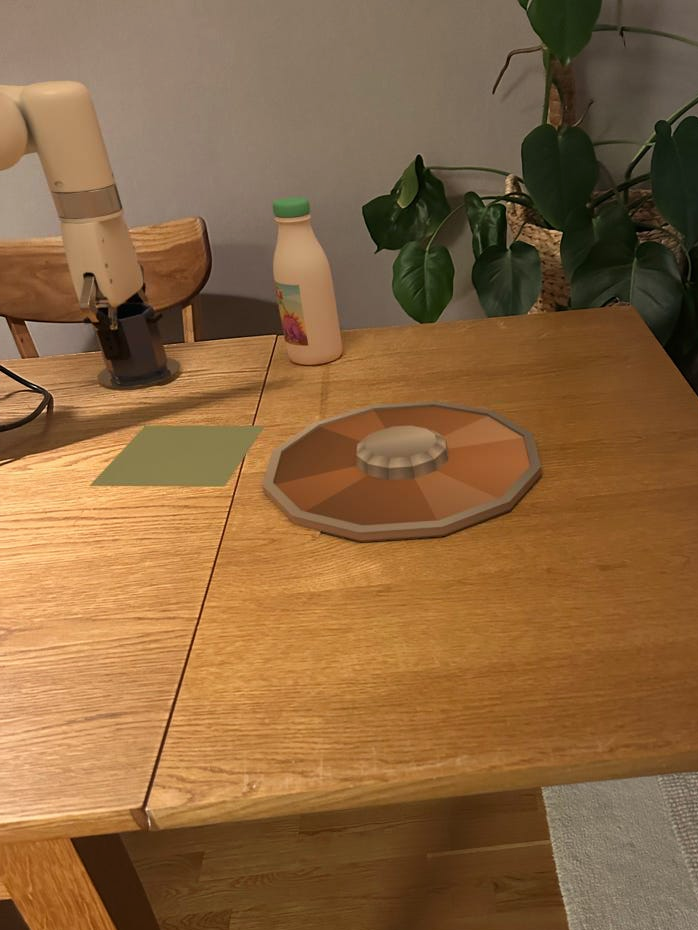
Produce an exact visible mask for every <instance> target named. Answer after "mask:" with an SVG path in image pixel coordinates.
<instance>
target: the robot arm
mask: <svg viewBox="0 0 698 930" xmlns="http://www.w3.org/2000/svg"><path fill="white" fill-rule="evenodd" d="M104 140H105V139H104V137H103V133H102V130H101V125H100V122H99V119H98V115H97V112H96V108H95V105H94V101H93V98H92V95H91V93H90V91H89V90H88V88H87V87H86V86H85V85H84V84H83V83H81V82H79V81H75V80H53V81H51V80H50V81H41V82H35V83H31V84H28V85H7V84H0V172H2V171H6V170H9V169H11V168H12V167H14V166H15V165H16V164H18V163H19V162H20V160H21V159H22V157H24V156H26V155H30V154H35V153H36V154H37V155H38V158H39V161H40V165H41V168H42V171H43V173H44V177H45V179H46V183H47V186H48V190H49V192H50V195H51V198H52V201H53V204H54V207H55V210H56V213H57V216H58V220H59V222H60V233H61V234H60V235H61V240H62V244H63V249H64V254H65V258H66V263H67V266H68V270H69V274H70V277H71V280H72V284H73V286H74V288H73V289H74V291H75V294H76V296H77V300H78V303H79V306H78V307H79V309H80V311H81V312H82V313H83V314H84V315H85V317H87V319H88V321H89V322H90V323H91V324H90V325H91V326H92V329H93V331H94V330H96V331H97V334H98V337H99V340H100V343H101V346H102V349H103V352H104V355H105V358H106V359H107V360H128V359H129V358H130V353H129V350H128V347H127V344H126V340H125V337H124V334H123V331H122V328H118V321H117V307H118V306H119V305H121V304H122V303H127V302H144V303H146V304H148V305H149V298H148V296H147V294H146V291H147V284H146V283H145V268H144V266H143V265H142V264H140V261H139V258H138V254H137V252H136V248H135V245H134V242H133V239H132V237H131V234H130V233H131V232H130V231H129V227H128V225H127V223H126V219H125V218H124V216H123V215H124V214H125V211H124V208H123V205H122V204H123V203H122V200H121V198H120V194H119V190H118V186H117V183H116V179H115V176H114V175H115V174H114V172H113V168H112V165H111V161H110V158H109V154H108V151H107V148H106V143H105V141H104ZM100 301H107V302H100ZM101 310H108V313H109V318H108V317H107V316H106V315H105V314H104V313H103V312H101Z"/></svg>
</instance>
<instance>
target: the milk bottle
mask: <svg viewBox="0 0 698 930" xmlns="http://www.w3.org/2000/svg"><path fill="white" fill-rule="evenodd" d="M310 206H311V205H310V201H309V199H307V198H306V197H301V196H289V197H283V198H278V199H276V200H274V201H273V202H272V211H273V215H274V221H275V222H276V223H277V239H276V246H275V250H274V254H273V261H272V270H273V271H272V275H273V281H274V287H275V295H276V300H277V305H278V311H279V316H280V322H281V326H282V327H281V328H282V332H283V338H284V343H285V348H286V352H287V353H286V354H287V357H288V358H289V360H290V361H291V362H292V363H295V364H298V365H303V366H304V365H306V366H312V365H314V366H315V365H322V364H326V363H330V362H333V361H336V360H338V359H339V358H340V357H341V356H340V355H342V353H343V343H342V335H341V329H340V321H339V315H338V309H337V302H336V295H335V288H334V283H333V277H332V272H331V267H330V263H329V260H328V258H327V255H326V253H325V251H324V249H323V248H322V246H321V243H320V242H319V240H318V238H317V237H316V235H315V232H314V230H313V228H312V225H311V218H312V216H311V215H312V214H311V207H310Z"/></svg>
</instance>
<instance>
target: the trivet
mask: <svg viewBox="0 0 698 930" xmlns="http://www.w3.org/2000/svg"><path fill="white" fill-rule="evenodd" d="M167 360H168V363H167V364H166V365H167V368H166V370H165V371H164V372H163V373H161V374H159V375H157V376H154V377H151V378H148V379H144V380H137V381H120V380H116V379H114V378H112V376H111V374H110V372H108V371H107V368H106V367H104V369H102V370H101V371H100V372H99V373H97V376H96V380H97V383H98V385H99V387H101V388H103V389H106V390H111V391H118V392H119V391H120V392H121V391H122V392H123V391H124V392H125V391H126V392H127V391H129V392H130V391H138V390H144V389H149V388H153V387H162V386H164V385H167V384H169V383H171V382H173V381H175V380H176V379H178V378H179V377H180V376H181V375H182V365H181V363H180V362H179V361H178V360H177V359H175V358H172V357H167Z"/></svg>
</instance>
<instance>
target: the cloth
mask: <svg viewBox="0 0 698 930" xmlns="http://www.w3.org/2000/svg"><path fill="white" fill-rule="evenodd" d="M264 428H265V425H144V426H143V427H142V428H141V429H140V431H139V432H138V433H136V434H135V436H134V437H133V438H132V439H131V440H130V441H129V442H128V443H127V445H126V446H125V447H124V448H123V449H122V450H121V451H120V452H119V453H118V454H117V455H116V457H114V459H113V460H112V461H111V462H110V463H109V464H108V465H107V466H106V467H105V468H104V469H103V470H102V472H100V473H99V475H98V476H97V477H96V478H95V479H93V481H92V482H91V484H89V487H221V488H222V487H223V488H224V487H225V486H226V485H227V483H228V482H229V481H230V480H231V477H233V474H234V473H235V472H236V471H237V469H238V467H239V465H241V462H242V461H243V460H244V458H245V456H246V455H247V454H248V452H249V450H250V449H251V448H252V446H253V445H254V443H255V442H256V440H257V438H258V437H259V435H260V434H261V433H262V431H263V430H264Z"/></svg>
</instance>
